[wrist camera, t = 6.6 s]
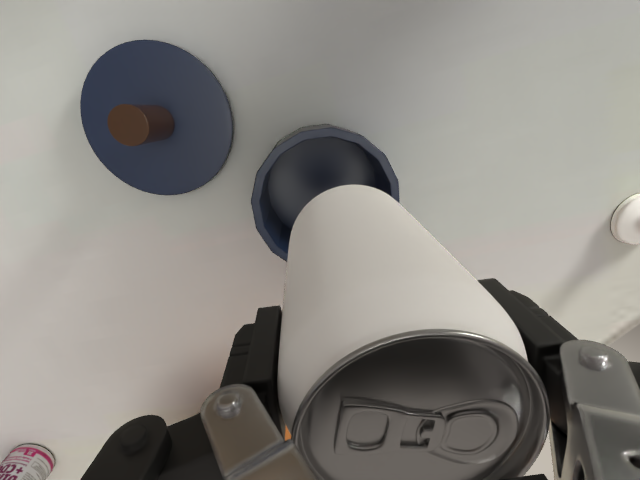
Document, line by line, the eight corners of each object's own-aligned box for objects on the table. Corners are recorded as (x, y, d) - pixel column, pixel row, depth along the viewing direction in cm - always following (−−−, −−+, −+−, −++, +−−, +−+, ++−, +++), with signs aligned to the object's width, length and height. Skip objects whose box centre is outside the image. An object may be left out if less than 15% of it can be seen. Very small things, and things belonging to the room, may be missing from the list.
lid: (65, 53, 27) (1, 37, 21) (216, 32, 27) (193, 11, 21) (115, 200, 31) (72, 221, 25) (247, 182, 31) (234, 199, 25)
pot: (250, 134, 29) (238, 140, 23) (376, 116, 29) (395, 118, 23) (273, 250, 33) (266, 281, 27) (384, 235, 33) (402, 262, 27)
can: (398, 300, 20) (517, 542, 9) (284, 291, 20) (261, 536, 8) (422, 189, 18) (622, 325, 7) (295, 175, 17) (283, 299, 6)
